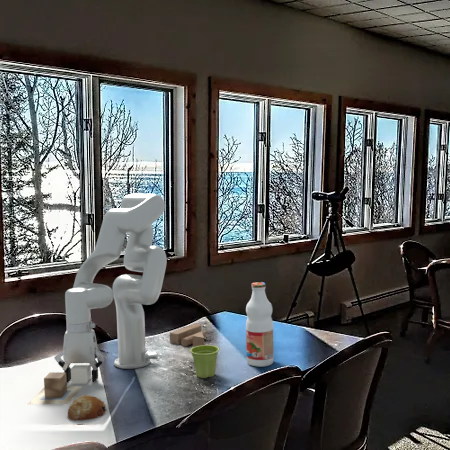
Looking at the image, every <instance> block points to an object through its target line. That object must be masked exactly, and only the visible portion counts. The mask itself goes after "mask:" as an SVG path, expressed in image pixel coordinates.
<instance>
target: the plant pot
mask: <svg viewBox="0 0 450 450" xmlns="http://www.w3.org/2000/svg"><path fill="white" fill-rule="evenodd" d="M219 351H220V348H219V347H218V346H216V345H209V344H204V345H201V346H196V347H193V346H192V347H191V348H190V353H191V356H192V358H193V364H194V369H195V375H196V376H197V377H198V378H203V379H207V378H209V377H210V378H211V377H214V376H215V374H216V368H217V367H216V365H217V359H218V358H217V357H218V354H219V353H218V352H219Z"/></svg>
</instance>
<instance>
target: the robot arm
mask: <svg viewBox="0 0 450 450" xmlns="http://www.w3.org/2000/svg"><path fill="white" fill-rule="evenodd" d="M120 202H121V203H120V206H121V207H119V208H118V207H117V208H110V209H109V210H107V211H106V213H105V215H104V217H103V219H102V222H101V226H100V230H99V234H98V238H97V241H96V243H95V244H96V245H95V248H94V250H93V252H92V253H91V254H90V255H89V256H88V257H87V258H86V259H85V260H84V262H83V263H82V264H81V265H80V267H79V269H78V271H77V272H76V275H75V279H74V283H73V287H72V288H69V289H67V290H66V291H65V292H64V293H65V294H64V302H65V320H66V331H65V333H64V336H63V348H62V351H60V352H59V353H57V354H56V355H55V356H54V360H55V361H56V362H57V364H58V365H59V367H60V368H62V370H63V372H66V379H67V383H69V382H71V368H72V367H71V364H90V365H91V377H92V378H91V383H95V382H96V381H97V380H98V379H99V368H100V366H102V364H104V362H105V360H106V359H107V355H106V354H105V353H104V352H102V351H100V349H98V343H97V342H98V341H97V338H96V333H95V330H94V329H93V328H96V323H93V322H92V317H91V310H93V309H103V308H107V307H108V306H109V305H111V304H112V302H113V300H114V304H115V310H116V330H117V331H116V333H117V350H118V351H117V353H118V355H117V356H118V357H117V358H115V360H114V362H113V363H114V366H115V367H117V368H118V369H126V370H127V369H128V370H131V369H133V370H134V369H140V368H143V367H146V366H149V364H150V363H151V360H158V359H159V353H156V351H152V352H151V351H148V348H147V347H146V328H145V327H146V324H145V311H144V308H143V305H146V306H148V305H153V304H155V303H156V302H157V301H158V299H159V297H160V295H161V291H162V287H163V282H164V278H165V273H166V268H167V260H168V259H167V254H166V252H165V250H164V249H163V248H162V247H160V246H157V245H153V238H154V228H153V225H152V224H153V223H155V222H156V221H157V220H158V219H159V218H161V216H162V215H163V214H164V211H165V209H166V208H165V207H166V205H165V204H166V203H165V200H164V198H163V197H162V196H160V195H159V194H156V193H131V194H126V195H125V196H122V199H121V201H120ZM127 234H128V238H127V243H126V247H125V251H124V256H123V265H124V267H125V269H126V270H128V271H131V272H138V273H142V275H138V274H130V273H129V274H127V273H125V274H121V275H119V276H117V277H116V278H115V279H114V281H113V283H112V287H110V286H108V285H106V284H103V283H94V279H95V277H96V275H97V274H98V273H99V271H100V270H101V269H103V268H104V267H105V266H107V265H108V264H111V263H112V262H115V261H116V260H118V259H119V258H120V256H121V254H122V253H121V252H122V250H123V249H122V248H123V247H124V241H125V238H126V235H127ZM62 358H63V359H62ZM98 358H99V361H97V360H96V359H98Z"/></svg>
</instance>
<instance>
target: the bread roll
mask: <svg viewBox="0 0 450 450" xmlns="http://www.w3.org/2000/svg"><path fill="white" fill-rule="evenodd" d="M106 406H107V405H106V404H105V402H104V401H103V400H101V399H100V398H98V397H96V396H91V395H88V394H81V395H80V396H77V397H76V398H75V399H74V400H73V401H72V402H71V404H70V405H69V407H68V410H67V418H68V419H69V420H71V421H76V422H77V421H87V420H88V421H89V420H92V419H97V418H99V417H102V416H104V414H105V413H106V411H107V409H106ZM77 425H79V426H80V425H81V426H82V425H84V423H77Z"/></svg>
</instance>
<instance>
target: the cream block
mask: <svg viewBox="0 0 450 450" xmlns="http://www.w3.org/2000/svg"><path fill="white" fill-rule="evenodd" d="M70 368H71V380H70V382H71V384H88V382H89V381H91V380H92V367H91V365H90V364H89V363H74V365H73V366H72V367H70Z"/></svg>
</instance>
